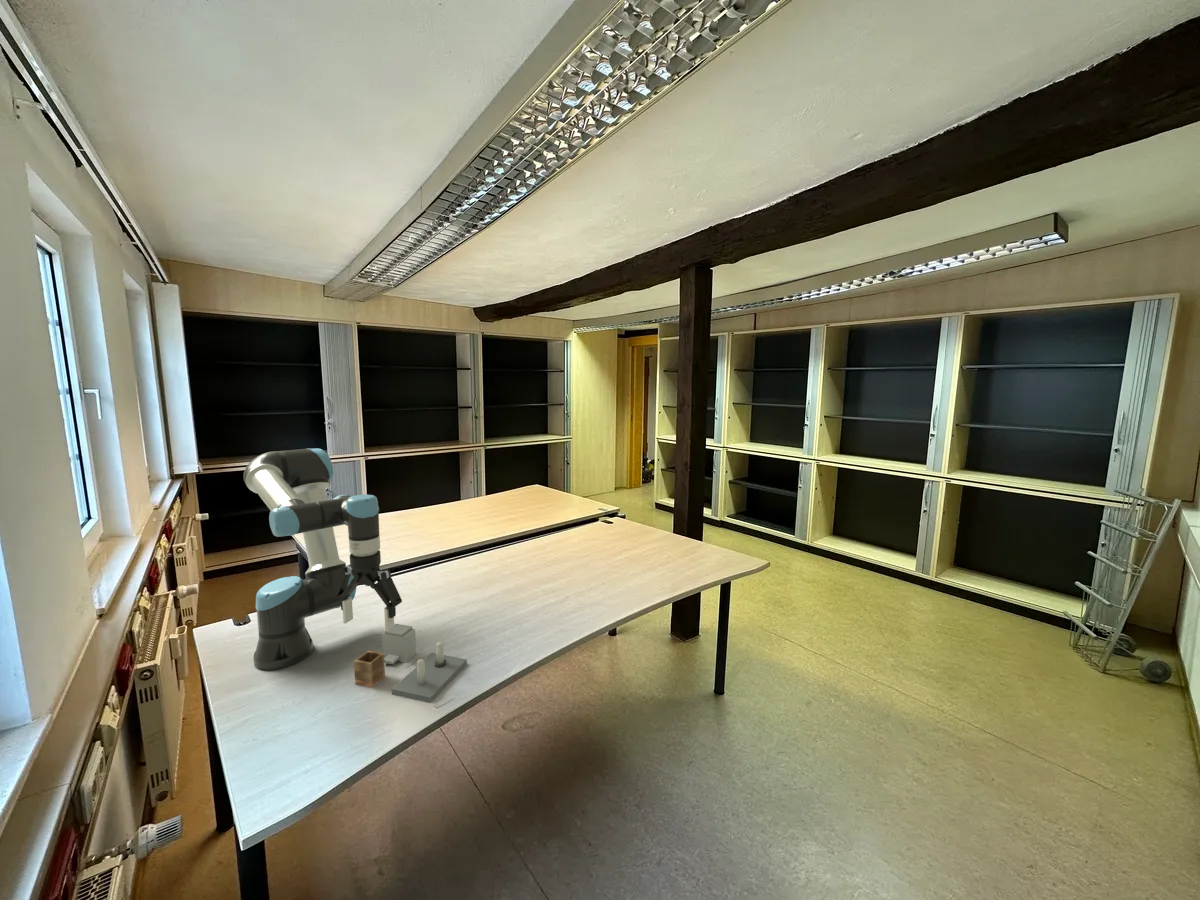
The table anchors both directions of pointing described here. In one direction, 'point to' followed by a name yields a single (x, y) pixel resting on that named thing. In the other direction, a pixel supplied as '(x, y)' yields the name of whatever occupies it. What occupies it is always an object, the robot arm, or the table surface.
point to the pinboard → (430, 676)
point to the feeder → (398, 643)
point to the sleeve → (369, 668)
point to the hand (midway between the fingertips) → (368, 624)
